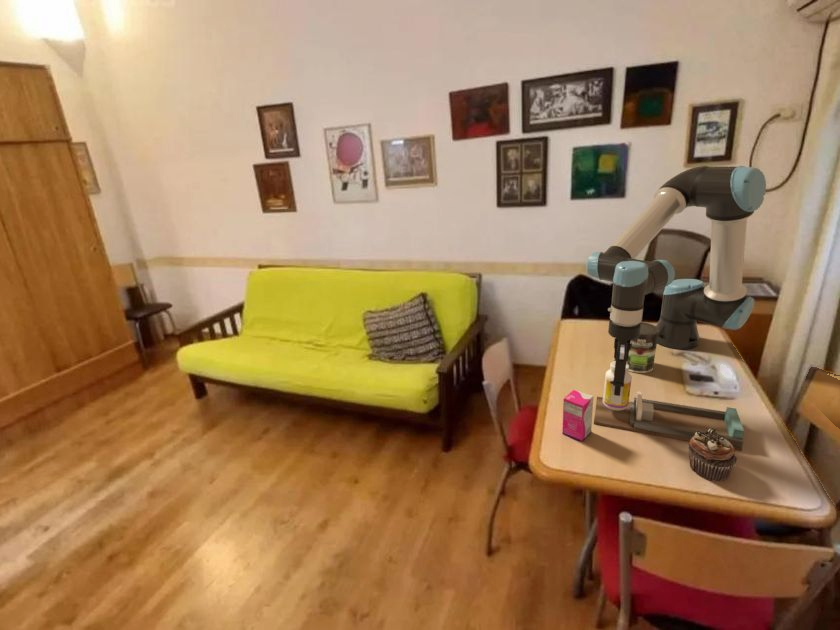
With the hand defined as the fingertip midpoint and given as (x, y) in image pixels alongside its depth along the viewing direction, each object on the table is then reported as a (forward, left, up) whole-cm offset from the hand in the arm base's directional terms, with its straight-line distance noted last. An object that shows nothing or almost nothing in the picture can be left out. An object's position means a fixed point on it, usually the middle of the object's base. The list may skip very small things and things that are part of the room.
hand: (616, 396), depth 122 cm
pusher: (0, +8, -5) cm, 9 cm away
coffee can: (-31, +6, -6) cm, 32 cm away
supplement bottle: (0, 0, -3) cm, 3 cm away
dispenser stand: (0, +13, -6) cm, 14 cm away
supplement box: (+12, -9, -6) cm, 16 cm away
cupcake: (+16, +21, -6) cm, 27 cm away
